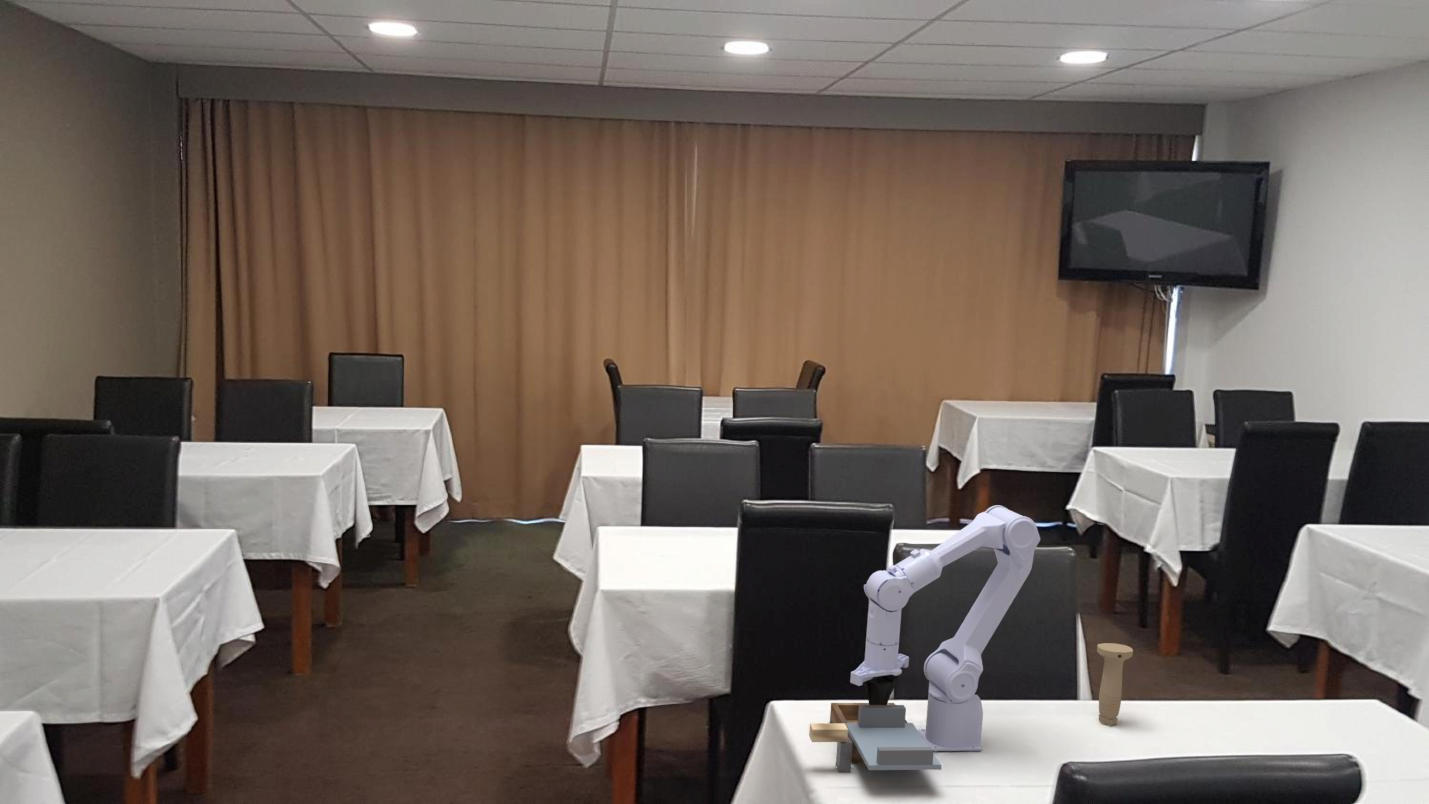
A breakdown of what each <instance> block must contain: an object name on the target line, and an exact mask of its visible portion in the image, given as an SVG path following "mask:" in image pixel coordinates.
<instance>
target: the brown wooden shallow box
mask: <svg viewBox="0 0 1429 804" xmlns="http://www.w3.org/2000/svg"><path fill="white" fill-rule="evenodd" d="M859 705H869V702H831V703H830V714H829V716H830V717H829V723H845V725H846V723H858V712H859ZM887 705H896V704H895V702H888V703H887ZM905 723H909V722H908V721H907V720H906V719H905ZM848 737H850V739H851V741H852V743H853V745H852V759H851V764H865V762H864V760H863V758H862V757H861V755H860V753H859V751H858V749H857V747H856V746H855V744H854V742H853V740H852V738H851V736H850V735H849V733H848Z"/></svg>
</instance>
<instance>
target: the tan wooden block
mask: <svg viewBox="0 0 1429 804" xmlns="http://www.w3.org/2000/svg"><path fill="white" fill-rule="evenodd" d="M808 735H809V738H810V741H811V743H837V742H847V738H848V728H847V727H846V725H845V723H830V722H829V723H824V722H823V723H821V722H820V723H819V722H818V723H815V722H814V723H811V722H810V723H809V731H808Z"/></svg>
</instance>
